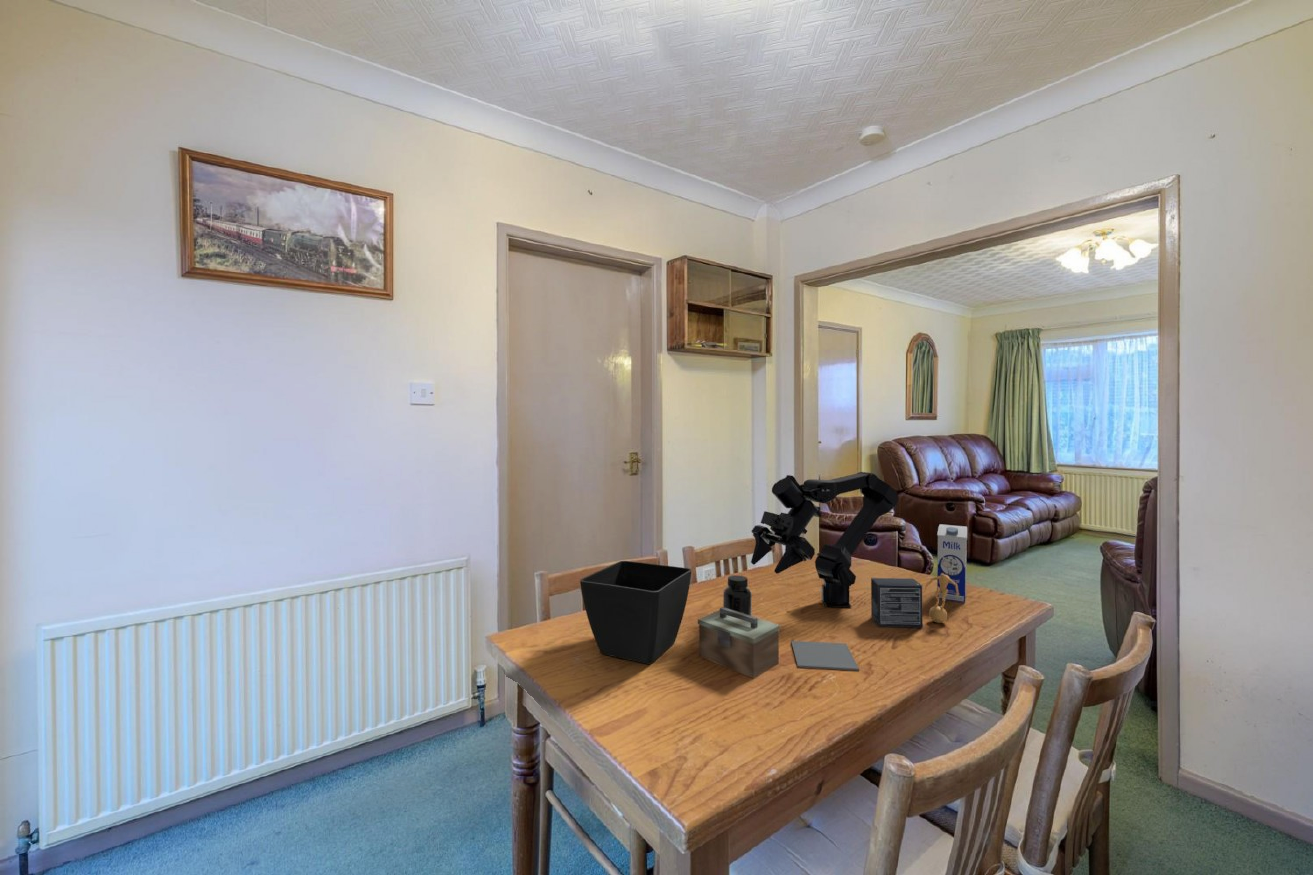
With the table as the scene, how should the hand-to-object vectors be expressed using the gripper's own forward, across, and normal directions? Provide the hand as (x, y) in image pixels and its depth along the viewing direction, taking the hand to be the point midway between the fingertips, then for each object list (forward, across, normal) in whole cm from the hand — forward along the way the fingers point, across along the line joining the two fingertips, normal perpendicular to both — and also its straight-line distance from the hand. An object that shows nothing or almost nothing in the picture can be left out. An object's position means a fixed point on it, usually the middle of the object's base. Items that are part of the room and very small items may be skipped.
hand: (763, 567), depth 133 cm
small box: (-10, +17, +29) cm, 35 cm away
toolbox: (+22, +15, -4) cm, 27 cm away
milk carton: (-30, +12, +50) cm, 60 cm away
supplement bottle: (+15, 0, +4) cm, 16 cm away
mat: (+10, +22, +8) cm, 26 cm away
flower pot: (+34, 0, -15) cm, 37 cm away
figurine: (-17, +21, +37) cm, 46 cm away
